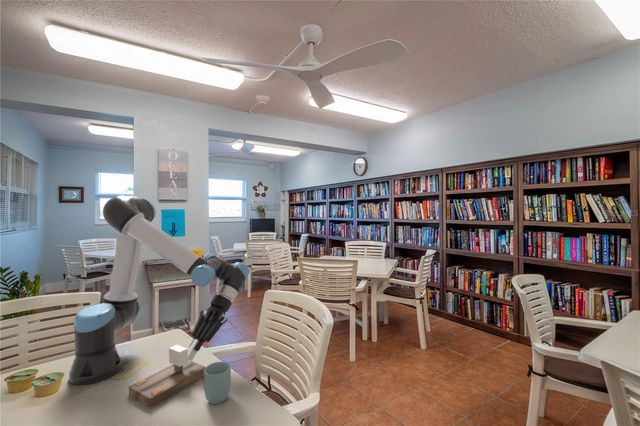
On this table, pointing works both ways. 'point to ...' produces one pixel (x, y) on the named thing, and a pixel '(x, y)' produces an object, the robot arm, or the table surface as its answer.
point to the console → (165, 384)
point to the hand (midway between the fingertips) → (187, 359)
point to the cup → (217, 382)
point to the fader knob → (178, 357)
